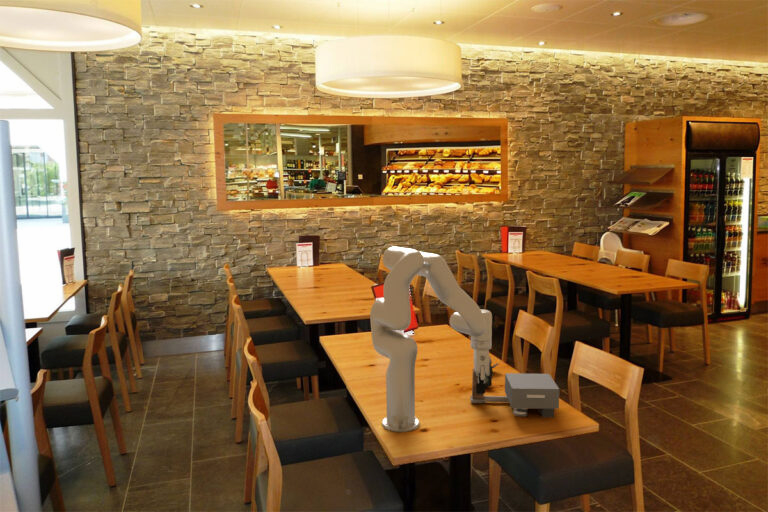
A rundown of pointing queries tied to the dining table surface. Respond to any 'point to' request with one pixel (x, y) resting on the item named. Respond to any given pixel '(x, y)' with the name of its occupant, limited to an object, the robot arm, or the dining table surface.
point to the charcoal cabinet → (532, 392)
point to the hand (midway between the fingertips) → (480, 391)
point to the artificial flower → (489, 378)
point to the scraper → (480, 397)
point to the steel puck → (520, 412)
